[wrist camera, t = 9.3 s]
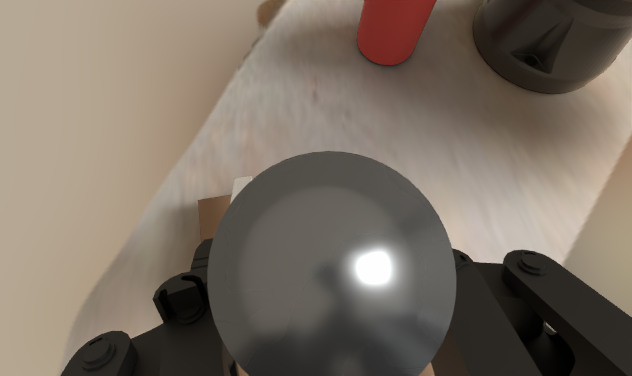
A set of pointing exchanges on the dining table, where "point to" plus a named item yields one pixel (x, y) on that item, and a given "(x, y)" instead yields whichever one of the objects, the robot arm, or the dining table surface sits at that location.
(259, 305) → the steel pin
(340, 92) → the dining table surface
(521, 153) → the dining table surface
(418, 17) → the beer can
